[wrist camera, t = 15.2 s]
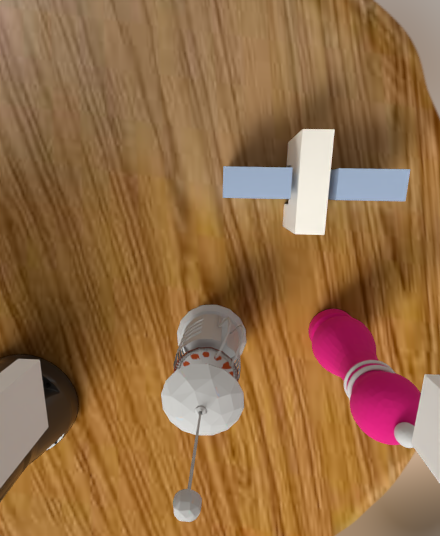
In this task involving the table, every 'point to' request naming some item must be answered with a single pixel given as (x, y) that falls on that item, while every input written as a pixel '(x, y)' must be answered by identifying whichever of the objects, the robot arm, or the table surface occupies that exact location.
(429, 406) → the robot arm
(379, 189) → the blue batten
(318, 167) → the white notched block
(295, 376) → the table surface
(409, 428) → the pepper mill
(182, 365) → the french press
